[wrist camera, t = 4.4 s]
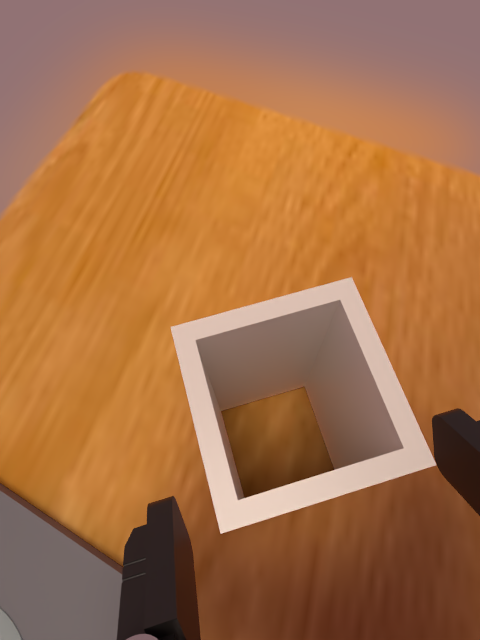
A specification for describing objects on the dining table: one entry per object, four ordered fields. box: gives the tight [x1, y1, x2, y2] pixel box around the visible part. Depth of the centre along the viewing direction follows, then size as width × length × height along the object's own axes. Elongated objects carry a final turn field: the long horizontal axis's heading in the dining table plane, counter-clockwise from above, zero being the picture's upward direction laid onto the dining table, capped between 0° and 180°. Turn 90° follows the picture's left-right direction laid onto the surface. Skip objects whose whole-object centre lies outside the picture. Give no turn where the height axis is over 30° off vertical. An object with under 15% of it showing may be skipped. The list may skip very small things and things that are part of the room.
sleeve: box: [171, 277, 436, 534], centre depth 16 cm, size 6×6×10 cm
